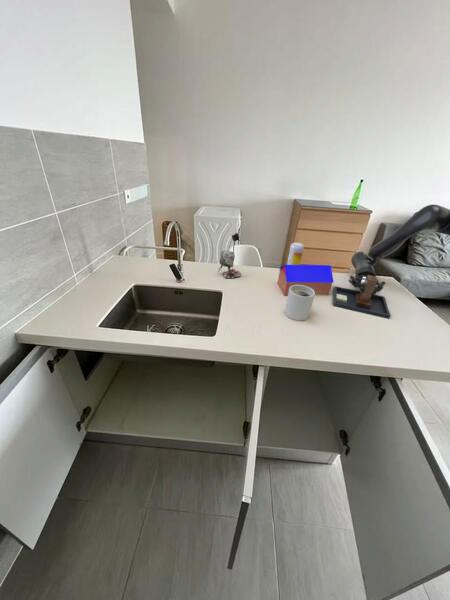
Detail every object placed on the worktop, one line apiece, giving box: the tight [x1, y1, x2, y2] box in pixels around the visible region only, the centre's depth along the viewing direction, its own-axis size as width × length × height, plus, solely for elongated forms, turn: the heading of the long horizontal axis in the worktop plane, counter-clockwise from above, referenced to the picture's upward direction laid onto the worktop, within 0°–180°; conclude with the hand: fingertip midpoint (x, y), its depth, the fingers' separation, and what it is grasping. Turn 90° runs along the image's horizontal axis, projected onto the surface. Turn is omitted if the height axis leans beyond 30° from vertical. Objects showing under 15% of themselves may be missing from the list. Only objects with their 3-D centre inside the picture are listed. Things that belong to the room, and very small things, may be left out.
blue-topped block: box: [277, 264, 335, 297], centre depth 105 cm, size 12×20×12 cm, turn 94°
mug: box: [284, 285, 315, 321], centre depth 89 cm, size 11×10×10 cm
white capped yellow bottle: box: [286, 242, 305, 265], centre depth 118 cm, size 6×6×15 cm
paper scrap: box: [336, 294, 347, 302], centre depth 101 cm, size 4×4×1 cm
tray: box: [332, 286, 391, 320], centre depth 99 cm, size 20×16×2 cm
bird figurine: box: [217, 232, 242, 279], centre depth 111 cm, size 8×11×20 cm
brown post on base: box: [355, 275, 378, 310], centre depth 96 cm, size 5×8×12 cm, turn 158°
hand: (368, 291), depth 93 cm, fingers closed on brown post on base, 3 cm apart
